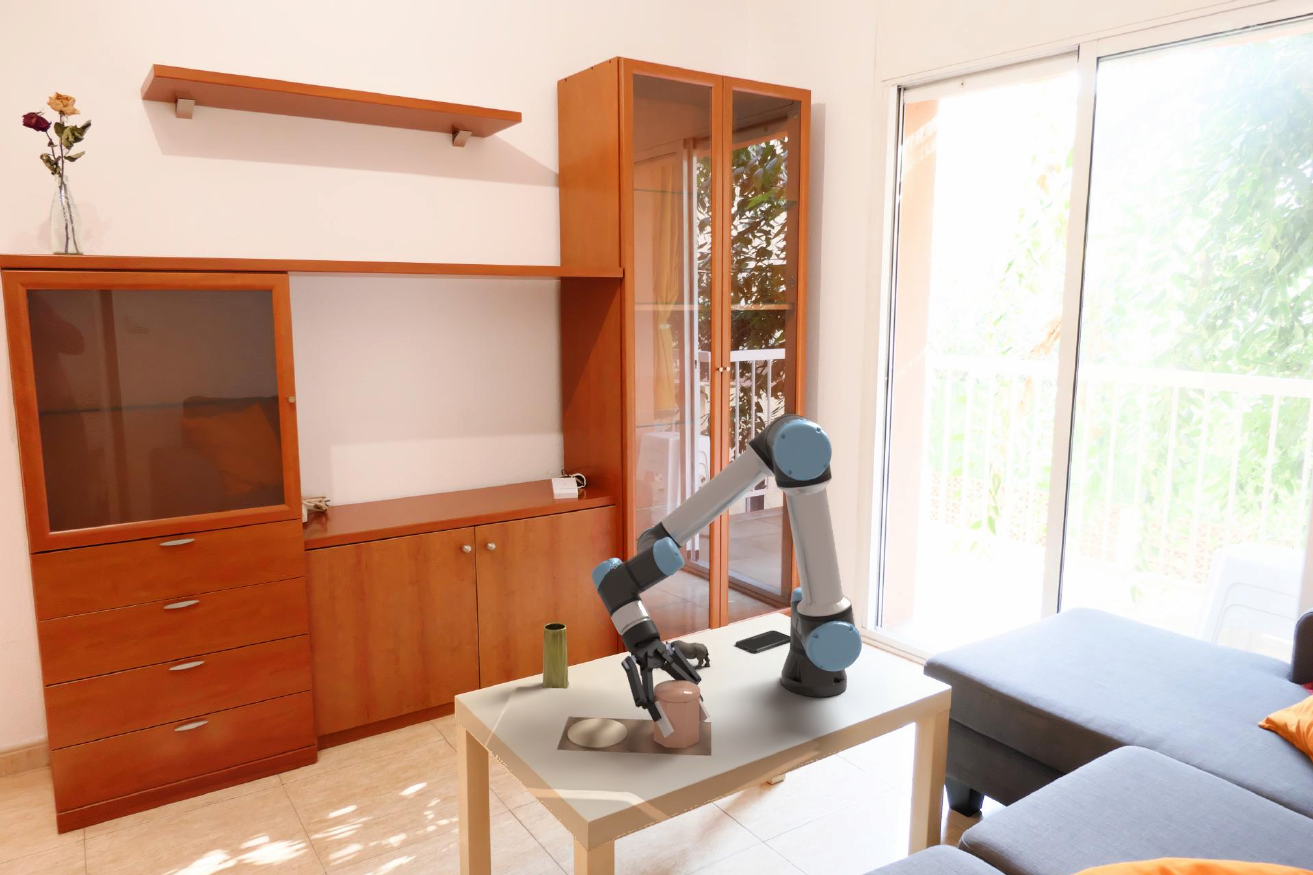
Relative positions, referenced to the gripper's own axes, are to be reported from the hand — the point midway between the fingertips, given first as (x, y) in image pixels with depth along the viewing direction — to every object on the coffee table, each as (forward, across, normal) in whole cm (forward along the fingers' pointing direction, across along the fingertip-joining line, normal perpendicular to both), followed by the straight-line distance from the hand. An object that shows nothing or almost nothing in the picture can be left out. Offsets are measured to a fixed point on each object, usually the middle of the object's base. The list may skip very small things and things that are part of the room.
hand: (687, 726), depth 172 cm
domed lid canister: (0, 0, -5) cm, 5 cm away
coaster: (-8, +11, -13) cm, 19 cm away
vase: (-26, +3, -33) cm, 42 cm away
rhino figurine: (-19, -28, -26) cm, 43 cm away
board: (-3, +6, -9) cm, 11 cm away
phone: (-16, -54, -23) cm, 61 cm away
